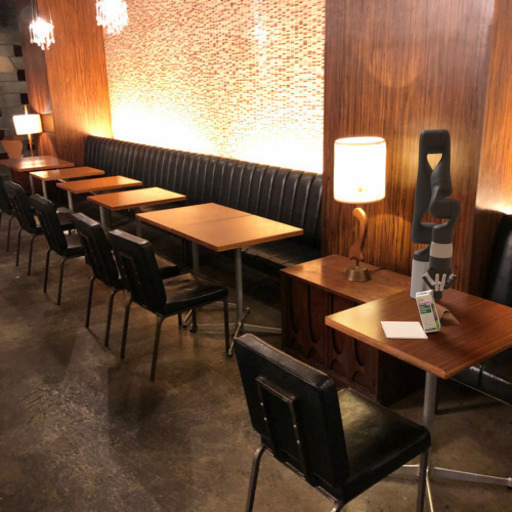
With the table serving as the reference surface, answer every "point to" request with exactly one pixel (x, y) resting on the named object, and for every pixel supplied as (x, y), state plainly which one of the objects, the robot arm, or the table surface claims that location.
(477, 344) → the table surface
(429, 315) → the syrup box
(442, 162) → the robot arm
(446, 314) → the sunglasses case
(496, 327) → the table surface
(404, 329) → the placemat
